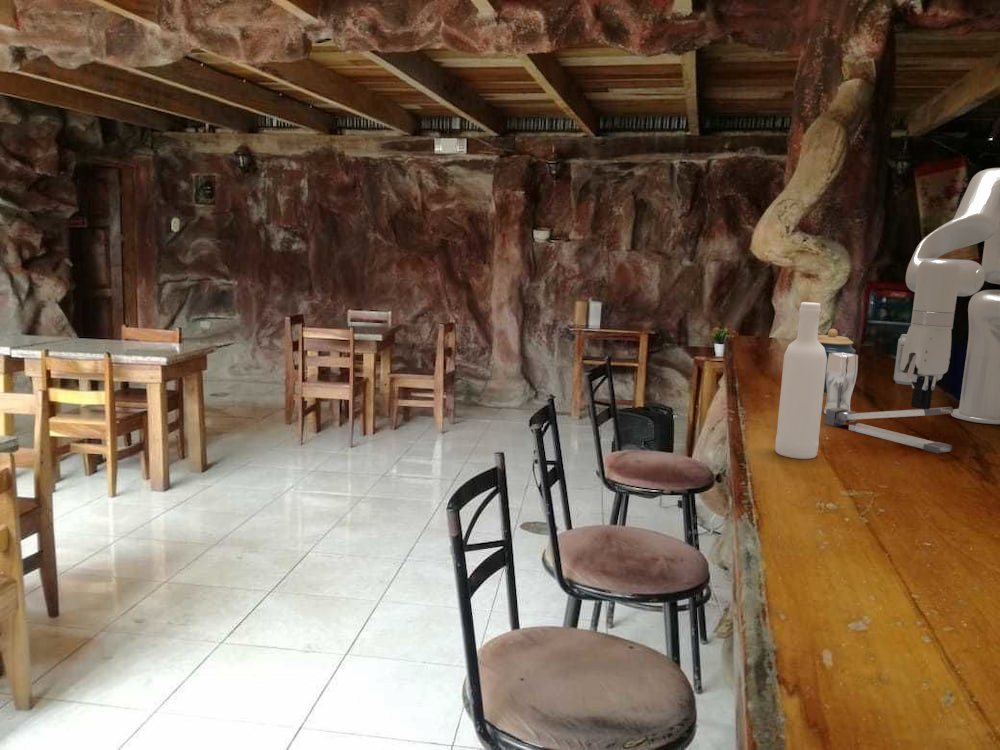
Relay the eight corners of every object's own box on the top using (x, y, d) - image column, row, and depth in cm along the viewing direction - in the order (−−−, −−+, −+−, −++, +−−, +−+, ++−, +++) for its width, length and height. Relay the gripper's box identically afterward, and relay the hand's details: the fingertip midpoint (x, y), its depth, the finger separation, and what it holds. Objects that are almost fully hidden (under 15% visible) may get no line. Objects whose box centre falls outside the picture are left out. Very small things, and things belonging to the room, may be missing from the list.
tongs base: (824, 424, 179) (825, 409, 178) (837, 422, 181) (839, 407, 180) (937, 453, 155) (939, 436, 155) (951, 451, 158) (953, 434, 157)
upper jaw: (836, 423, 176) (835, 412, 176) (849, 421, 178) (848, 411, 178) (939, 417, 155) (937, 405, 155) (953, 415, 157) (951, 404, 157)
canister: (793, 385, 228) (799, 326, 224) (829, 384, 231) (835, 326, 228) (823, 394, 215) (830, 331, 212) (861, 392, 219) (868, 331, 216)
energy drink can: (915, 383, 237) (921, 335, 235) (914, 386, 232) (920, 336, 230) (894, 380, 240) (899, 333, 238) (892, 383, 235) (898, 335, 233)
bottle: (790, 460, 148) (806, 304, 142) (766, 449, 155) (780, 301, 150) (826, 458, 150) (842, 304, 144) (800, 447, 157) (815, 301, 152)
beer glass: (855, 418, 186) (862, 357, 183) (825, 416, 187) (831, 355, 184) (848, 412, 192) (855, 353, 190) (819, 410, 194) (825, 351, 191)
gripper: (935, 318, 164) (924, 402, 167) (892, 318, 156) (881, 406, 159) (971, 322, 157) (959, 409, 160) (928, 322, 150) (915, 414, 153)
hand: (920, 407), depth 160 cm, fingers closed
